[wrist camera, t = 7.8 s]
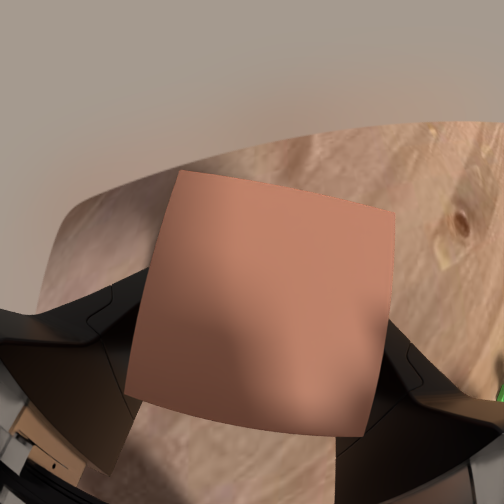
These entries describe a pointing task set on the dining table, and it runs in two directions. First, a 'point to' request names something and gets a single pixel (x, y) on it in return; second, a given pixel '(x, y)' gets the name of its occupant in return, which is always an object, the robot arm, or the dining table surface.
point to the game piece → (501, 394)
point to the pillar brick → (265, 307)
